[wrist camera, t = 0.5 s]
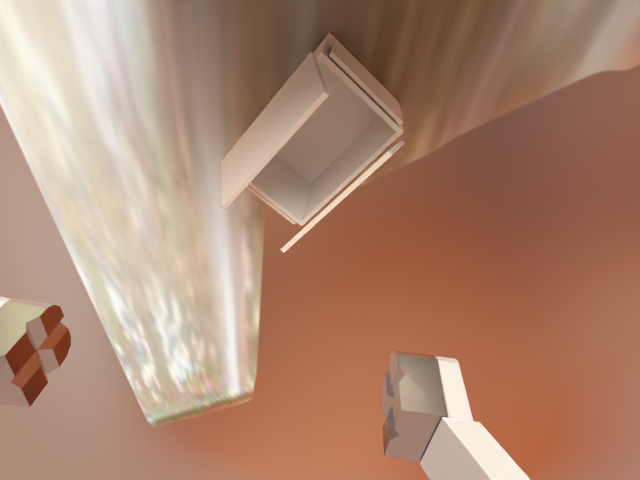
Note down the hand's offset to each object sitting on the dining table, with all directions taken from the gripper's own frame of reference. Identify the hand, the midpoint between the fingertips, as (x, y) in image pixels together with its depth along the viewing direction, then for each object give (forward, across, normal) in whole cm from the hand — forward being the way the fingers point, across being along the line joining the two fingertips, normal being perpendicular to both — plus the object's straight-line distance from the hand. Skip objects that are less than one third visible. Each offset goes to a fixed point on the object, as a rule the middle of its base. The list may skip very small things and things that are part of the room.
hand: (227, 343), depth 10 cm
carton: (+44, 0, +9) cm, 45 cm away
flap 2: (+30, -3, +12) cm, 33 cm away
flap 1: (+30, +4, +6) cm, 31 cm away
